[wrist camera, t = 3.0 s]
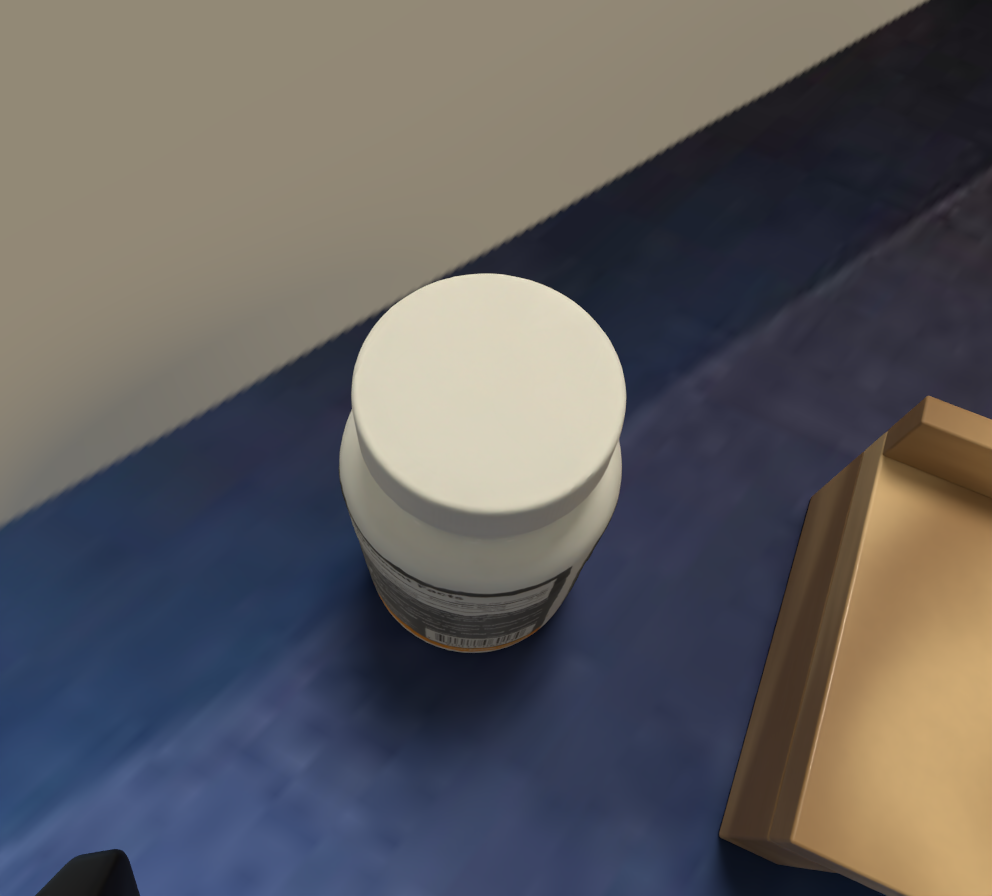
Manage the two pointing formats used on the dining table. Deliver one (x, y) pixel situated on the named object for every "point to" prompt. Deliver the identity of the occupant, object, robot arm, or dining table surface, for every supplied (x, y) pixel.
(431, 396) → the pill bottle
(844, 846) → the shelf
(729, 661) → the dining table surface
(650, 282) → the dining table surface
